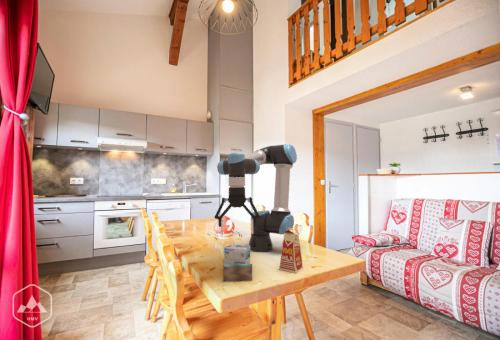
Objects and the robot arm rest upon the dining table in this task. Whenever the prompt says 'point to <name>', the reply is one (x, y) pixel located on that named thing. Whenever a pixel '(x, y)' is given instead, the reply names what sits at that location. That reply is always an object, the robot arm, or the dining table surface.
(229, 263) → the light bulb box
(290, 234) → the milk carton
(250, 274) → the rack
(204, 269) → the dining table surface
